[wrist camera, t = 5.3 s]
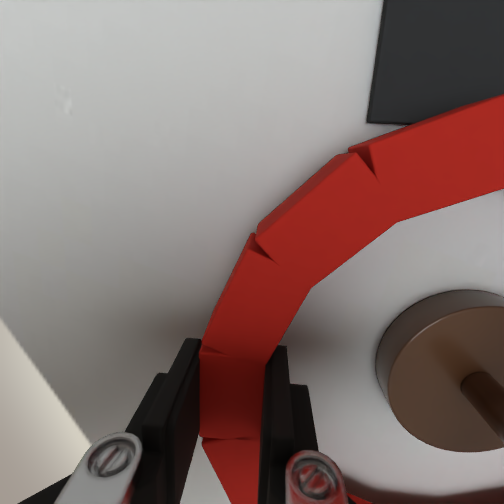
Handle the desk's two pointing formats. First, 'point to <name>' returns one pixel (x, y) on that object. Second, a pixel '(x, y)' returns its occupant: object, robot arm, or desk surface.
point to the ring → (327, 261)
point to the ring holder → (447, 370)
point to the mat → (436, 58)
